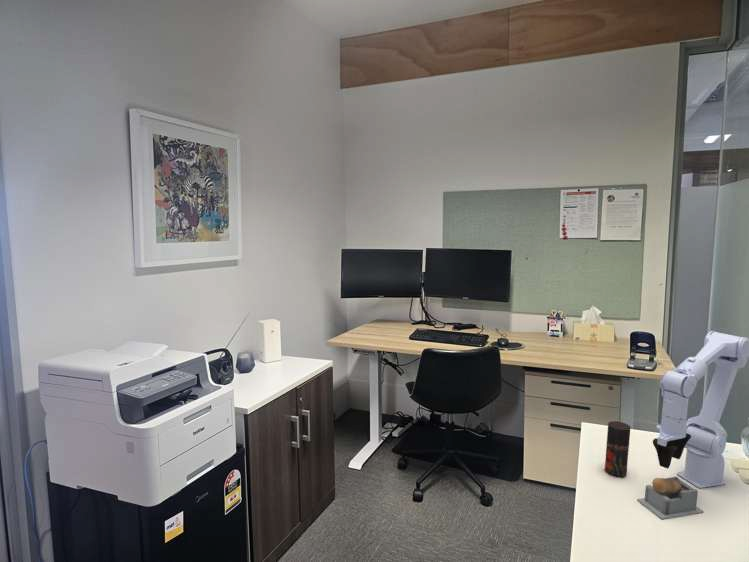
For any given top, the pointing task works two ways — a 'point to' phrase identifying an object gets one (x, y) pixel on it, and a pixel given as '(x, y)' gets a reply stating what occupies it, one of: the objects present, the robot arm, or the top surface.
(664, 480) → the dowel
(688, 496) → the socket
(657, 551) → the top surface
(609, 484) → the top surface
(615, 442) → the deodorant
